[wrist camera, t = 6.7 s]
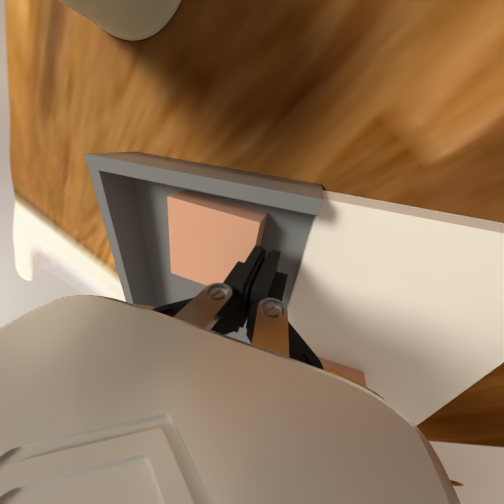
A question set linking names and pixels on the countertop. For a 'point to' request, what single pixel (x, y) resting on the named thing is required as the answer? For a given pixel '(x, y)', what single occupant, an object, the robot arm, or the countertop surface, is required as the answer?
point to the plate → (402, 298)
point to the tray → (157, 227)
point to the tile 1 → (210, 235)
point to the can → (127, 15)
